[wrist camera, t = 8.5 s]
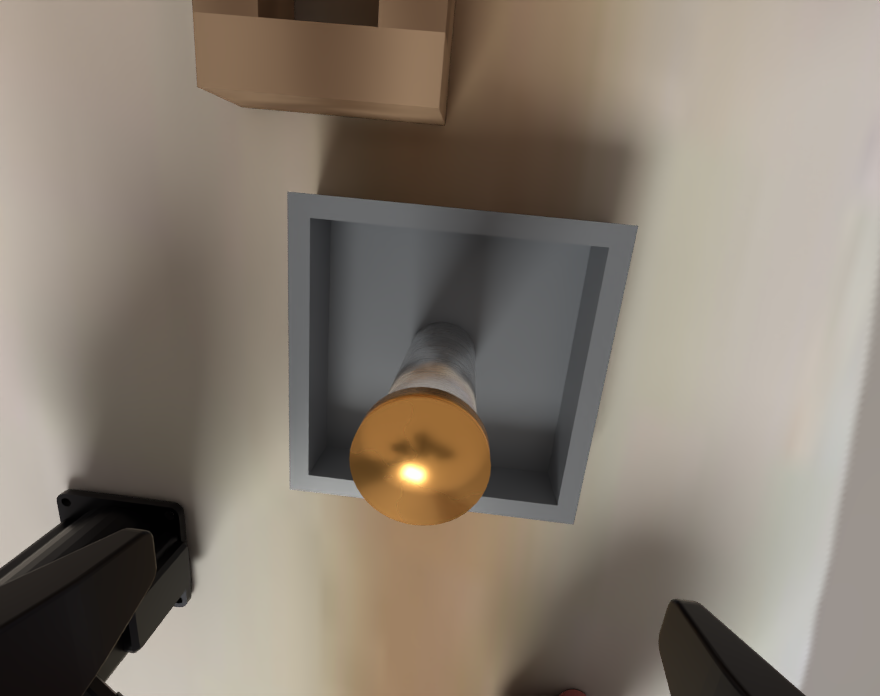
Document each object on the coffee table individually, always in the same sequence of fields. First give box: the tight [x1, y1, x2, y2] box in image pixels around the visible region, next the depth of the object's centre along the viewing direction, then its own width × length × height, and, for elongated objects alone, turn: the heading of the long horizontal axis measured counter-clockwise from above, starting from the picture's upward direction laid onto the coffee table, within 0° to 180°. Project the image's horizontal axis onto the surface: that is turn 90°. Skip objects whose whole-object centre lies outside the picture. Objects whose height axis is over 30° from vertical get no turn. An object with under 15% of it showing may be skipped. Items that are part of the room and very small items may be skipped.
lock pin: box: [349, 322, 491, 525], centre depth 15 cm, size 3×3×9 cm
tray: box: [288, 192, 638, 524], centre depth 18 cm, size 12×12×3 cm
